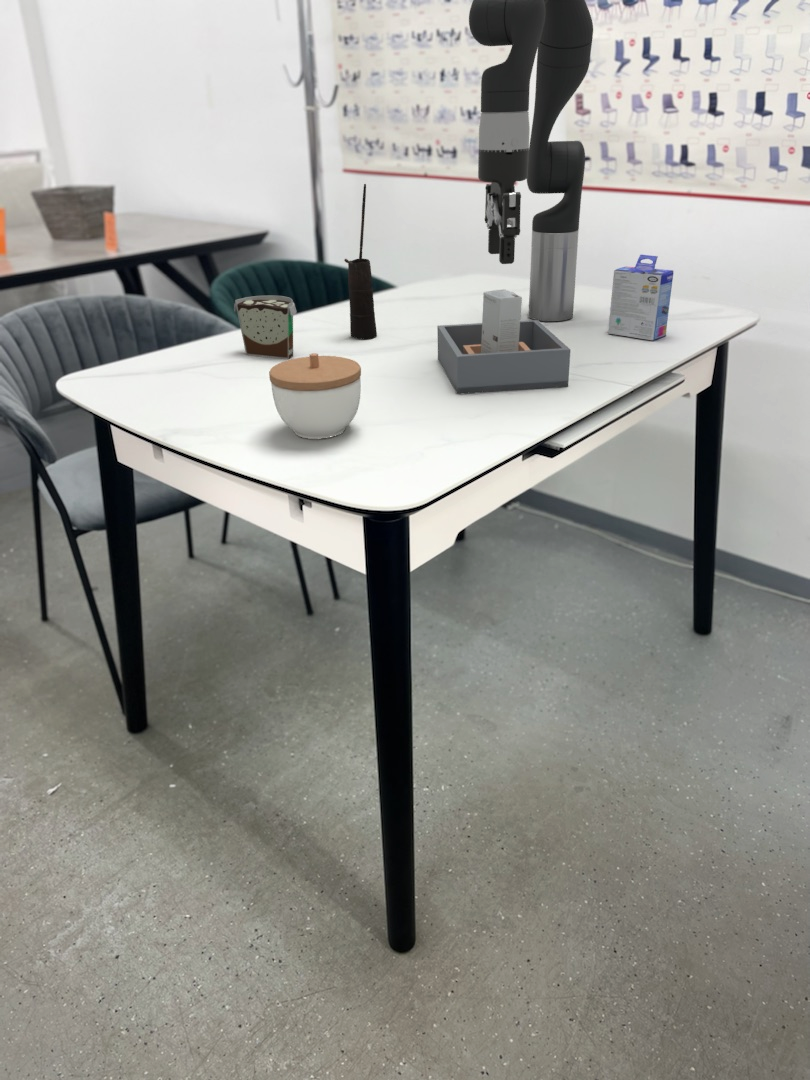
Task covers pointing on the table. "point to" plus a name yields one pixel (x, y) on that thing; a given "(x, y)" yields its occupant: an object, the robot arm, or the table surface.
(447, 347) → the walled box
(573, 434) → the table surface
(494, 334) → the skincare box
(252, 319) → the food container
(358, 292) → the butter churn
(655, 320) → the ink cartridge box
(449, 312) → the table surface
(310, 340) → the table surface
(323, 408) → the lidded bowl
